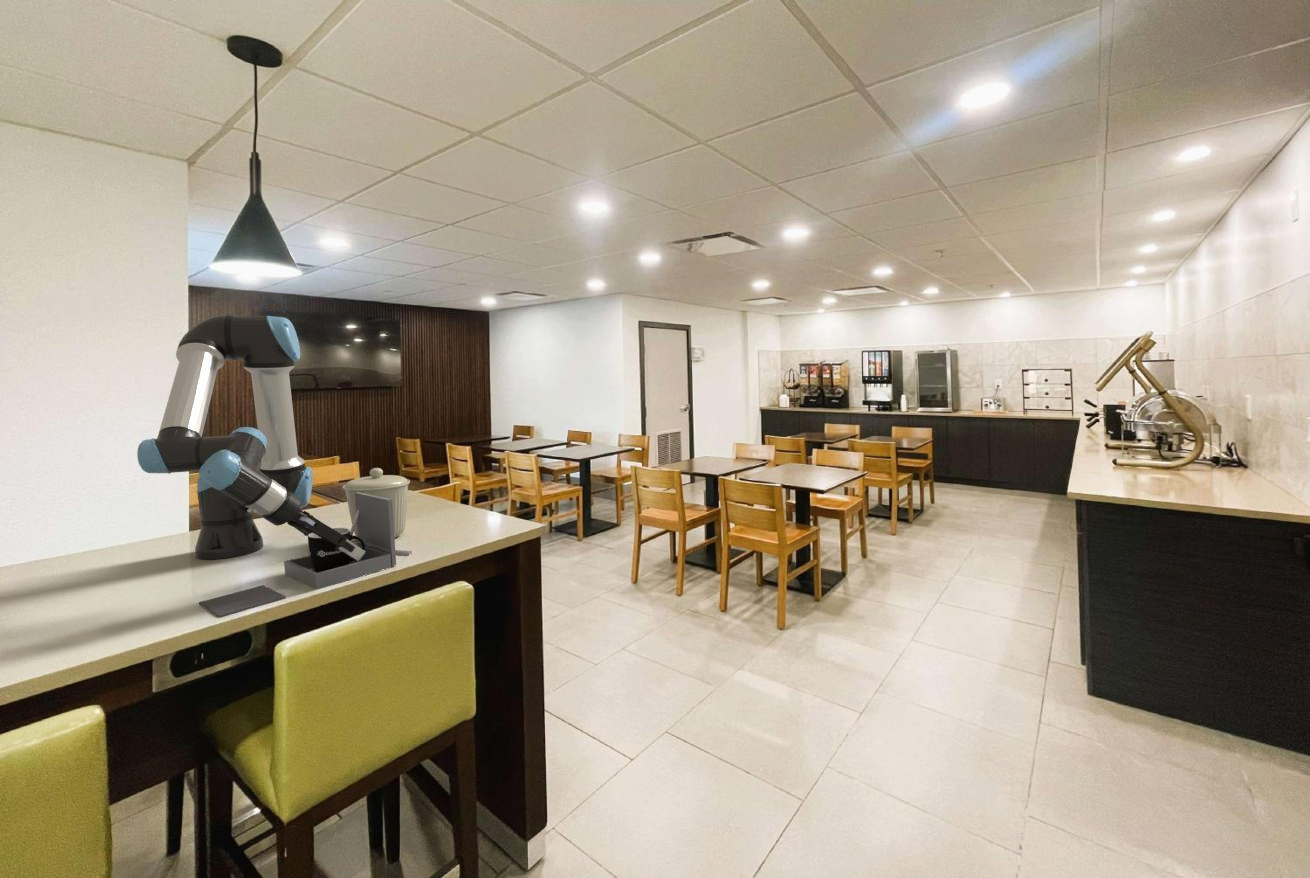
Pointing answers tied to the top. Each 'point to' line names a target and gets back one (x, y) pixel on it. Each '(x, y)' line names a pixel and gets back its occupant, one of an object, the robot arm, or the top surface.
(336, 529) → the mug
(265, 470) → the robot arm
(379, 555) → the case
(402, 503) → the canister
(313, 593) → the top surface
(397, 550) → the rod
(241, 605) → the mat
